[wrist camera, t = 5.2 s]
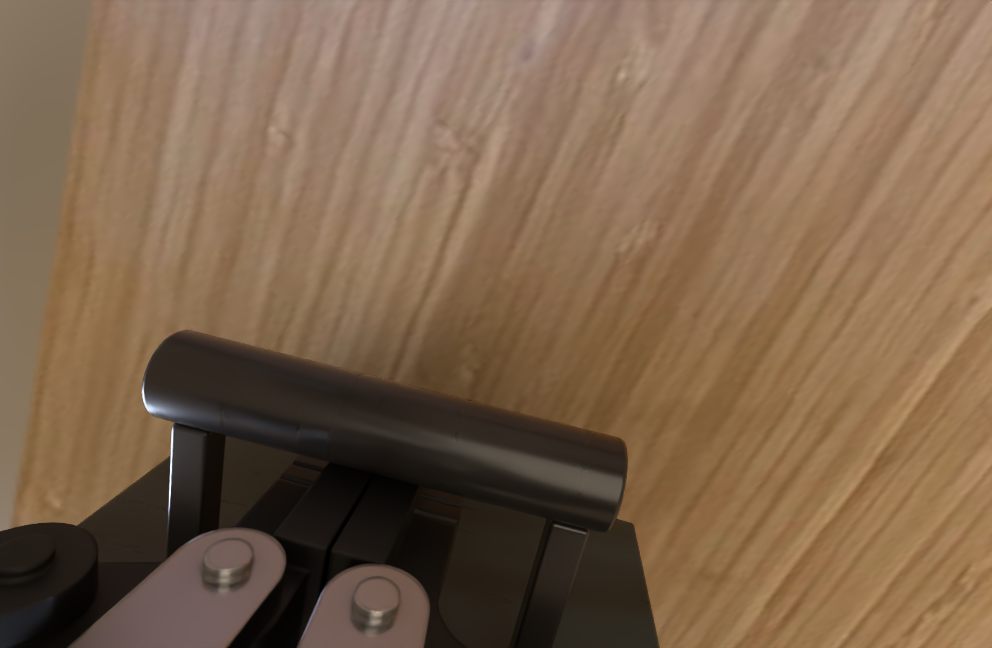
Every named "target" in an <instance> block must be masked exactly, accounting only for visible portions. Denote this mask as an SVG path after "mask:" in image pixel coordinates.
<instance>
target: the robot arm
mask: <svg viewBox="0 0 992 648" xmlns="http://www.w3.org/2000/svg"><path fill="white" fill-rule="evenodd" d="M464 500H465V497H461V496H457V495H454V494H450V493H446V492H442V491H438V490H434V489H430V488H427V487H423V486H419V485H415V484H411V483H407V482H403V481H400V480H396V479H392V478H388V477H384V476H380V475H376V474H373V473H369V472H365V471H361V470H357V469H353V468H349V467H346V466H342V465H338V464H334V463H330V462H326V461H322V460H318V459H315V458H311V457H307V456H303V455H298V456H297V457H296V458H295V460H294V461H293V464H290V465H289V466H288V467H287V468H286V470H285V471H284V472H283V473H282V474H281V477H280V478H278V479H277V480H276V481H275V482H274V483H273V484H272V485H271V486H270V487H269V489H268V490H267V491H266V492H265V493H264V494H263V495H262V496H261V497H260V499H259V500H258V501H257V502H256V503H255V504H254V505H253V506H252V508H251V509H250V510H249V511H248V512H247V513H246V514H245V515H244V516H243V518H242V519H241V520H240V521H239V522H238V523H237V524H236V525H235V526H234V527H233V528H223V529H218V530H214V531H210V532H207V533H204V534H202V535H200V536H197V537H195V538H193V539H192V540H190V541H188V542H187V543H185V544H184V545H183V546H181V547H180V548H179V549H178V550H177V551H175V552H174V553H173V554H172V555H171V556H170V557H169V558H168V559H166V560H165V561H161V562H98V544H97V541H96V539H95V537H94V536H93V535H92V534H91V533H90V532H89V531H87V530H85V529H83V528H82V527H78V526H75V525H71V524H66V523H38V524H30V525H25V526H20V527H16V528H12V529H8V530H4V531H0V648H468V647H467V646H465V645H464V644H462V643H461V642H460V641H459V640H458V639H457V638H456V637H455V636H454V635H453V634H452V633H451V632H450V630H449V629H448V628H447V626H446V624H445V623H444V621H443V619H442V616H441V614H440V611H439V606H438V601H439V598H440V594H441V590H442V587H443V583H444V579H445V575H446V572H447V568H448V565H449V561H450V557H451V554H452V550H453V546H454V541H455V537H456V533H457V529H458V525H459V521H460V516H461V512H462V508H463V504H464Z"/></svg>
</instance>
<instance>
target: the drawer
mask: <svg viewBox="0 0 992 648" xmlns="http://www.w3.org/2000/svg"><path fill="white" fill-rule="evenodd" d="M142 399H143V403H144V406H145V408H146V409H147V410H148V412H149V413H151V414H152V415H153V416H155V417H157V418H160V419H164V420H168V421H172V422H176V423H174V425H173V426H172V435H171V456H169V457H168V458H167V459H165V460H164V461H163V462H161V463H160V464H159V465H157V466H156V467H155V468H153V469H152V470H151V471H149V472H148V473H147V474H145V475H144V476H143V477H141V478H140V479H139V480H137V481H136V482H135V483H133V484H132V485H131V486H129V487H128V488H127V489H125V490H124V491H123V492H121V493H120V494H119V495H117V496H116V497H115V498H113V499H112V500H111V501H109V502H108V503H107V504H105V505H104V506H103V507H101V508H100V509H99V510H97V511H96V512H95V513H93V514H92V515H91V516H89V517H88V518H87V519H85V520H84V521H83V522H81V523H80V524H79V525H77V526H78V527H82V528H83V529H85V530H87V531H89V532H90V533H91V534H92V535H93V536H94V537H95V539H96V541H97V544H98V562H161V561H165V560H166V559H168V558H169V557H170V556H171V555H172V554H173V553H174V552H175V551H177V550H178V549H179V548H180V547H181V546H183V545H184V544H185V543H187V542H188V541H190V540H192V539H193V538H195V537H197V536H200V535H202V534H204V533H207V532H210V531H214V530H218V529H223V528H233V527H234V526H235V525H236V524H237V523H238V522H239V521H240V520H241V519H242V518H243V516H244V515H245V514H246V513H247V512H248V511H249V510H250V509H251V508H252V506H253V505H254V504H255V503H256V502H257V501H258V500H259V499H260V497H261V496H262V495H263V494H264V493H265V492H266V491H267V490H268V489H269V487H270V486H271V485H272V484H273V483H274V482H275V481H276V480H277V479H278V478H280V477H281V474H282V473H283V472H284V471H285V470H286V468H287V467H288V466H289V465H290V464H293V461H294V460H295V458H296V457H297V456H298V455H303V456H307V457H311V458H315V459H318V460H322V461H326V462H330V463H334V464H338V465H342V466H346V467H349V468H353V469H357V470H361V471H365V472H369V473H373V474H376V475H380V476H384V477H388V478H392V479H396V480H400V481H403V482H407V483H411V484H415V485H419V486H423V487H427V488H430V489H434V490H438V491H442V492H446V493H450V494H454V495H457V496H461V497H465V500H464V504H463V508H462V512H461V516H460V521H459V525H458V529H457V533H456V537H455V541H454V546H453V550H452V554H451V557H450V561H449V565H448V568H447V572H446V575H445V579H444V583H443V587H442V590H441V594H440V598H439V601H438V606H439V611H440V614H441V616H442V619H443V621H444V623H445V624H446V626H447V628H448V629H449V630H450V632H451V633H452V634H453V635H454V636H455V637H456V638H457V639H458V640H459V641H460V642H461V643H462V644H464V645H465V646H467V647H468V648H660V647H659V642H658V638H657V633H656V628H655V623H654V618H653V614H652V609H651V604H650V599H649V595H648V590H647V585H646V580H645V576H644V571H643V566H642V561H641V557H640V552H639V547H638V542H637V538H636V533H635V528H634V524H632V523H630V522H626V521H622V520H618V519H616V518H617V515H618V513H619V510H620V507H621V503H622V500H623V496H624V491H625V485H626V479H627V469H628V455H627V448H626V444H625V442H624V441H623V440H622V439H620V438H618V437H614V436H610V435H606V434H602V433H598V432H594V431H590V430H586V429H582V428H578V427H574V426H570V425H566V424H562V423H558V422H554V421H550V420H546V419H542V418H538V417H534V416H530V415H526V414H522V413H518V412H514V411H510V410H506V409H502V408H498V407H494V406H490V405H486V404H482V403H479V402H475V401H471V400H467V399H463V398H459V397H455V396H451V395H447V394H443V393H439V392H435V391H431V390H427V389H423V388H419V387H415V386H411V385H407V384H403V383H399V382H395V381H391V380H387V379H383V378H379V377H375V376H371V375H367V374H363V373H359V372H355V371H351V370H347V369H343V368H339V367H335V366H331V365H327V364H323V363H319V362H315V361H311V360H307V359H303V358H299V357H295V356H291V355H287V354H283V353H279V352H275V351H271V350H267V349H263V348H259V347H256V346H252V345H248V344H244V343H240V342H236V341H232V340H228V339H224V338H220V337H216V336H212V335H208V334H204V333H200V332H196V331H192V330H184V331H179V332H176V333H174V334H172V335H170V336H169V337H168V338H166V339H165V340H164V341H163V342H162V343H161V344H160V345H159V347H158V348H157V349H156V351H155V352H154V354H153V355H152V357H151V359H150V361H149V363H148V365H147V368H146V371H145V374H144V378H143V383H142Z"/></svg>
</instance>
